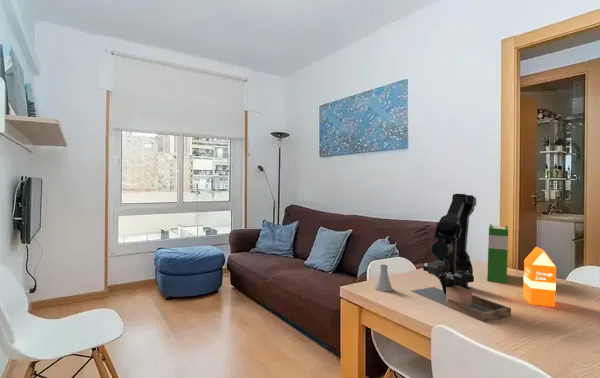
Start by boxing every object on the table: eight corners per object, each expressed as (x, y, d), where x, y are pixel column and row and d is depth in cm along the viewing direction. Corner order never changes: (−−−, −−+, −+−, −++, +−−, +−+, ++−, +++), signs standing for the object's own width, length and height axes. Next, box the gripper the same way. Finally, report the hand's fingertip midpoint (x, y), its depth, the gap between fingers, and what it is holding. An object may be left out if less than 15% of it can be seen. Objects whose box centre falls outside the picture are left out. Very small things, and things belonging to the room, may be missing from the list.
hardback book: (488, 272, 165) (489, 224, 164) (505, 274, 161) (507, 225, 161) (487, 280, 150) (488, 228, 149) (506, 283, 146) (508, 229, 146)
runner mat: (433, 287, 138) (433, 286, 138) (510, 316, 109) (510, 315, 109) (409, 291, 133) (409, 290, 133) (483, 322, 104) (483, 321, 104)
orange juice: (546, 299, 127) (548, 247, 127) (555, 307, 119) (557, 251, 118) (522, 296, 130) (524, 245, 129) (529, 304, 121) (531, 249, 121)
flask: (393, 293, 130) (393, 268, 130) (374, 291, 132) (374, 266, 132) (391, 287, 138) (392, 263, 137) (373, 286, 139) (374, 262, 139)
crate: (457, 299, 124) (457, 285, 124) (472, 305, 118) (472, 290, 118) (445, 301, 121) (445, 287, 121) (460, 307, 116) (460, 293, 116)
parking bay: (473, 301, 122) (473, 294, 122) (510, 315, 109) (511, 308, 109) (447, 306, 116) (447, 299, 116) (484, 322, 104) (484, 314, 104)
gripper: (413, 249, 129) (411, 289, 130) (453, 260, 112) (451, 306, 113) (434, 248, 134) (433, 286, 134) (475, 258, 117) (474, 302, 117)
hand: (446, 294), depth 124 cm, fingers closed
